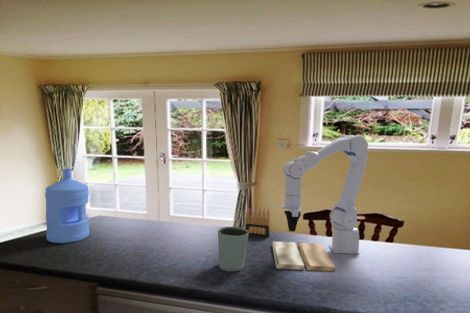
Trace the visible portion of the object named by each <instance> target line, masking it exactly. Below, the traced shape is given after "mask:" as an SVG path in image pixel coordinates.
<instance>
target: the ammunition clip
mask: <svg viewBox="0 0 470 313" xmlns="http://www.w3.org/2000/svg"><path fill="white" fill-rule="evenodd" d="M245 215H246V216H245V228H244V229H246V230H248V232H249V234H248V236H255V237H260V238H261V237H263V238H270V237H271V230H270V229H271V224H270V222H271V220H270V216H271V215H270V210H269V208H268V209H267V211H266V209H265V208H263V211H262V209H261V208H259V210H258V209H257V208H255V210H254V208H253V207H251V208H249V207H247V208H246V214H245Z"/></svg>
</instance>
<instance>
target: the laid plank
mask: <svg viewBox="0 0 470 313" xmlns="http://www.w3.org/2000/svg"><path fill="white" fill-rule="evenodd" d="M297 248H298V251H299V253H300V256H301V258H302V261H303V263H304V267H305V268H306V271H320V272H321V271H323V272H327V271H328V272H335V271H336V266H335V264H334V262H333V261H332V259H331V258H330V256H329V254H328V253H327V252H326V250H325V248H324V246H323V245H322V243H315V242H314V243H313V242H312V243H311V242H310V243H309V242H297Z"/></svg>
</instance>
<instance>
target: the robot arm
mask: <svg viewBox="0 0 470 313" xmlns="http://www.w3.org/2000/svg"><path fill="white" fill-rule="evenodd" d="M368 147H369V143H368V141H367V140H366V138H365V137H364V136H362V135H349V134H344V135H342V136H340V137H337V138H336V139H334V140H333V141H331V142H330V143H328V144H327V145H325V146H324V147H322V148H320V149H319V150H317V151H313V150H310V151H309V150H308V151H305V152H304V154H303V155H301V156H299V157H296V158H294V160H293V161H292V160H291V161H289V160H288V161H287V162H286V163H285V165H284V166H283V168H282V172H283V174H284V176H285V182H284V184H285V185H284V187H285V188H284V205H280V206H281V209H284V211H283V213H284V214H285V217H286V221H287V228H288V232H294V233H296V232H295V231H296V230H297V224H298V222H299V219H300V217H301V215H302V214H301V210H302V206H301V205H302V178H303V177H304V175H305V173H307V172H308V171H311V169H314V168H315V167H317V166H319V165H320V163H321V160H323V159H325V158H328V157H329V156H332V155H333V154H335V153H337V152H343V153H344V154H345V155H347V157H348V158H349V160H350V161H351V162H350V165H349V168H348V171H347V175H346V179H345V182H344V186H343V189H342V192H341V196H340V200H338V201H337V202H335V204H334V206H333V208H332V209H331V211H330V212H329V219H330V221H331V222H332V234H331V237H332V238H331V244H328V247H329V248H330V250H331V251H332V253H334V254H351V255H352V254H353V255H354V254H355V255H356V254H357V255H359V254H360V252H359V248H360V247H359V246H360V231H359V229H358V228H357V227H356V225H357V223H358V219H357V217H358V209H357V208H356V205H355V204H356V202H357V198H358V194H359V191H360V187H361V184H362V181H363V177H364V173H365V171H366V167H367V165H368V164H367V163H368V160H369V158H368Z"/></svg>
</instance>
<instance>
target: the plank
mask: <svg viewBox="0 0 470 313" xmlns="http://www.w3.org/2000/svg"><path fill="white" fill-rule="evenodd" d="M271 248H272V252H273V256H274V257H273V258H274V262H275V268H276V269H280V270H281V269H283V270H300V271H301V270H305V264H304V261H303V259H302V256H301V254H300V251H299V249H298V245H297V243H296V242H292V241H274V240H273V241H271Z"/></svg>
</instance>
